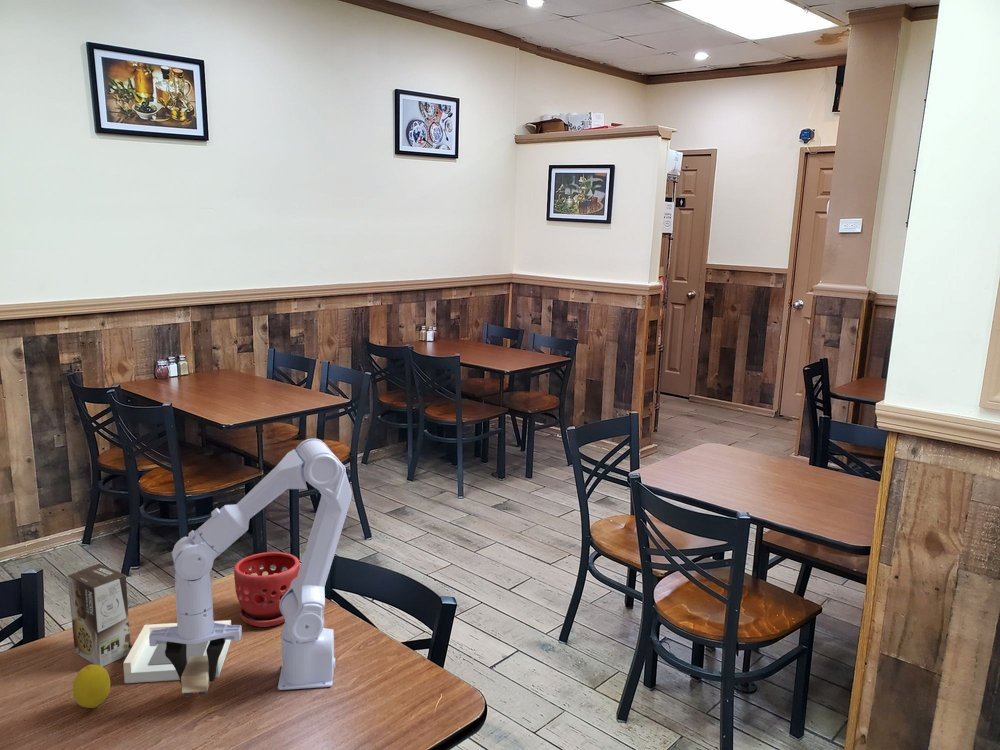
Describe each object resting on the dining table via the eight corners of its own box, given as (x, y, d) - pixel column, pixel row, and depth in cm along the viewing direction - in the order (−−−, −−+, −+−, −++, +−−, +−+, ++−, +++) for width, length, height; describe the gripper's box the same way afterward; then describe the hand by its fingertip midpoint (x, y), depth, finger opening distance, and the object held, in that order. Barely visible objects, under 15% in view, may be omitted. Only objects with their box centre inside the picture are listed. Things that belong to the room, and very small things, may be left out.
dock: (231, 638, 148) (230, 620, 147) (218, 677, 135) (217, 657, 135) (145, 643, 145) (144, 624, 144) (124, 683, 133) (123, 663, 132)
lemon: (103, 693, 130) (100, 651, 128) (117, 707, 126) (114, 664, 125) (69, 708, 125) (65, 665, 124) (83, 722, 122) (79, 679, 120)
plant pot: (312, 615, 158) (312, 562, 155) (257, 639, 148) (255, 583, 146) (278, 594, 166) (277, 544, 164) (223, 615, 156) (221, 562, 154)
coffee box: (133, 653, 142) (127, 574, 139) (99, 669, 136) (93, 588, 133) (105, 637, 147) (100, 561, 143) (72, 652, 141) (66, 574, 138)
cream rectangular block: (214, 676, 131) (213, 655, 131) (207, 697, 126) (206, 675, 125) (190, 678, 131) (189, 656, 130) (182, 699, 125) (181, 676, 124)
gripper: (243, 593, 130) (246, 662, 133) (155, 597, 128) (160, 668, 131) (236, 613, 124) (239, 686, 126) (143, 618, 121) (148, 693, 124)
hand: (198, 679), depth 128 cm, fingers closed on cream rectangular block, 4 cm apart
